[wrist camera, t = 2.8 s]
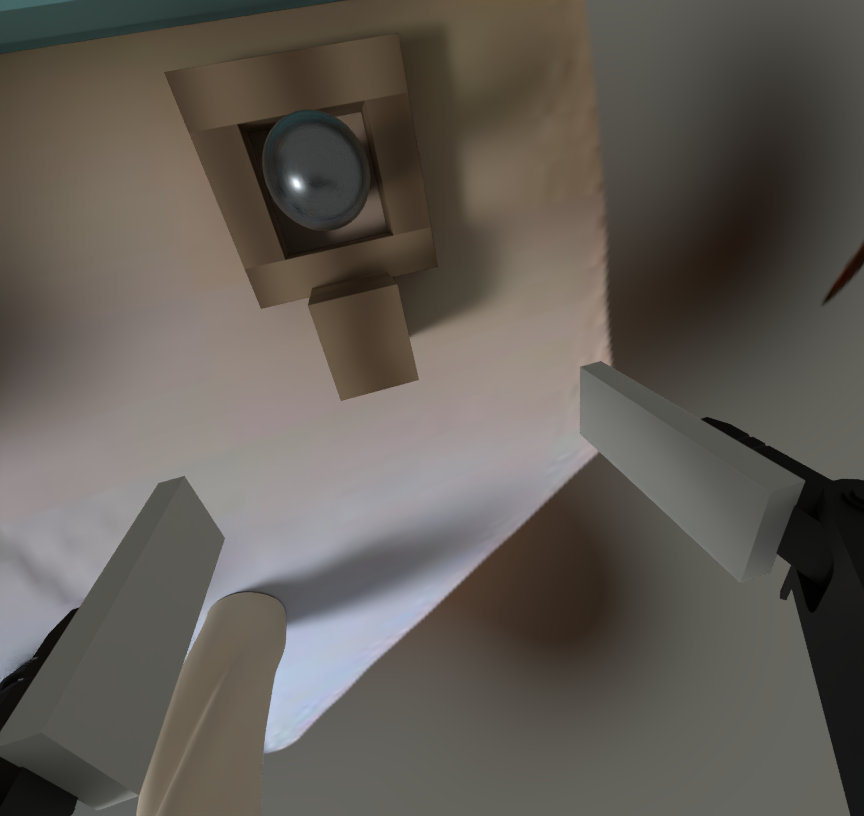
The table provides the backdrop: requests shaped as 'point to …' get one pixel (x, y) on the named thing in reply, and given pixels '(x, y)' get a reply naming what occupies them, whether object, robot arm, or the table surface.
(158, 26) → the tray
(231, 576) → the table surface
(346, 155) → the dark grey rod
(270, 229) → the tan blocky piece
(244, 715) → the water bottle
